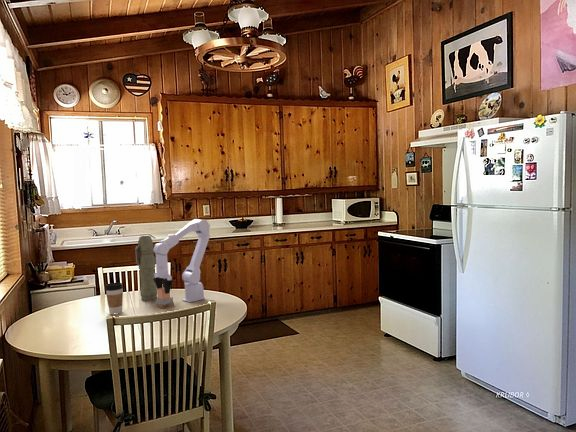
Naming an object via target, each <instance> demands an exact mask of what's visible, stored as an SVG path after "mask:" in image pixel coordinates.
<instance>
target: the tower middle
mask: <svg viewBox="0 0 576 432" xmlns="http://www.w3.org/2000/svg"><path fill="white" fill-rule="evenodd" d="M172 302H174V297H173V296H172V297H171V296H170V298H167V299H163V300H162V299H159V298H158V297H157V299H155V303H156V304H161V305H166V304H169V303H172Z"/></svg>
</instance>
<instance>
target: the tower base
mask: <svg viewBox="0 0 576 432" xmlns="http://www.w3.org/2000/svg"><path fill="white" fill-rule="evenodd" d="M154 306H155V307H156V308H158V309H162V310H163V309H168V308H171V307H175V302H174V301H173V302H172V303H169V304H166V305H161V304H156V302H155V303H154Z"/></svg>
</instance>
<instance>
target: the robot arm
mask: <svg viewBox="0 0 576 432" xmlns="http://www.w3.org/2000/svg"><path fill="white" fill-rule="evenodd" d="M210 227H211V225H210V223H209V222H208V220H206V219H200V218H194V219H192V220H191V221H188V223H187V224H186V225H185V226H184V227H182V228H181V229H180V230H178V232H176V233H175V234H174V233H170V234H168V235H167V237H166V238H164V239H162V240H160V242H158V243H157V242H156V243H155V247H153V254H154V253H155V254H156V263H155V270H156V272H155V273H154V277H155V278H153V280H154V282H155V284H156V286H157V289H159V288H163V287H164V290H165V294H168V293H170V294H171V287H172V284H173V282H174V279H173V278H172V275H170V274H169V263H168V253H169V251H170V249H172V248H173V247H175V246H176V245H177V244H179V243H180V240H181V239H182V238H183V237H185V236H186V235H188V234H189V233H191V232H195V233H196V235H197V236H198V240H197V242H196V245H195V247H194V248H195V249H194V251H193V254H192V256H191V260H190V263H189V265H187V266H186V269H184V271H183V272H182V275H181V278H182V281H183V282H184V293H185V294H184V295H185V296H184V297H185V298H182V301H184V302H188V303H193V302H197V301H201V300H202V301H203V300H205V293H204V285H203V283H202V282H201V281H200V280H201V269H200V267H201V263H202V261H203V259H204V256H205V253H206V248H207V246H208V243H209V240H210V236H211V235H210V234H211V233H210Z"/></svg>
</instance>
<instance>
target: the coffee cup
mask: <svg viewBox="0 0 576 432" xmlns="http://www.w3.org/2000/svg"><path fill="white" fill-rule="evenodd" d="M123 289H124V287H123V283H122V282H111V283H110V282H109V283H106V284H105V287H104V290H105V292H106V294H105V295H106V301H107V307H108V311H109V312H108V313H109V315H111V314H114V313H120V312H122V313H123V294H124V293H123ZM120 314H121V313H120Z"/></svg>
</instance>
